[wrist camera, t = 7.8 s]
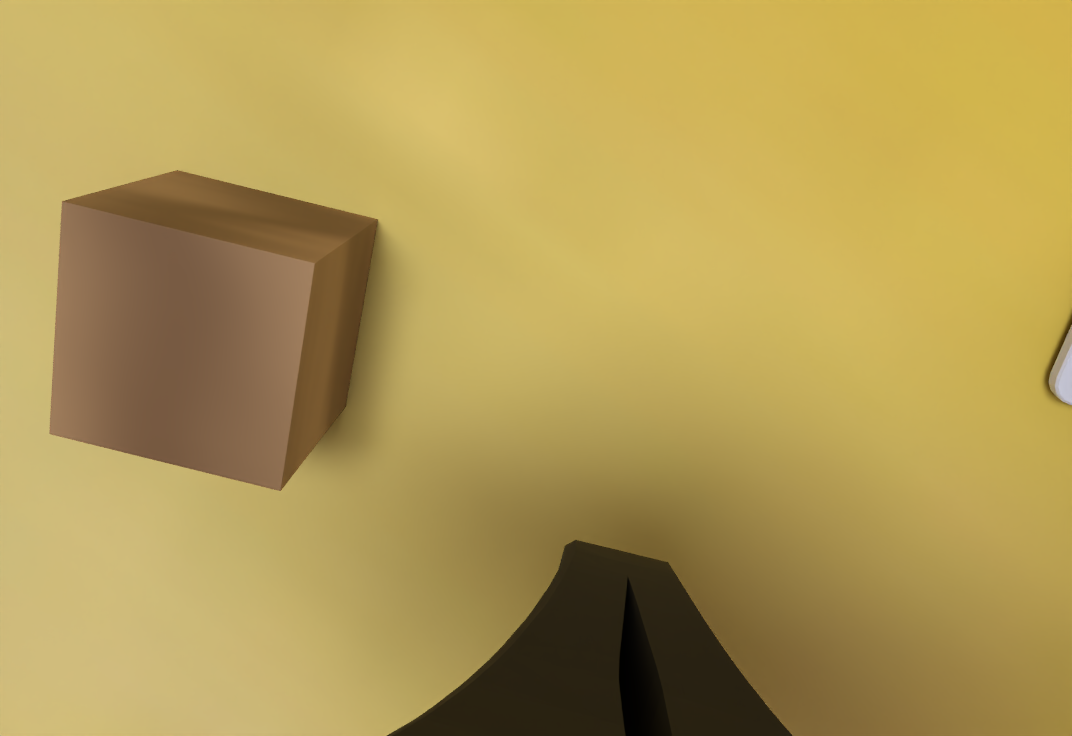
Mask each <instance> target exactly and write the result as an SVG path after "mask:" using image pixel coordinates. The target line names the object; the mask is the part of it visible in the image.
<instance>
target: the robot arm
mask: <svg viewBox="0 0 1072 736" xmlns="http://www.w3.org/2000/svg"><path fill="white" fill-rule="evenodd" d="M1049 386H1050V390H1051V391H1052V392H1053V393H1054V394H1055V396H1056V397H1058V398H1059V399H1060V400H1061V401H1063V402H1065V403H1067V404H1070V405H1072V325H1071V327H1070V330H1069V332H1068V334H1067V336H1066V339H1065V341H1064V343H1063V346H1062V348H1061V350H1060V352H1059V355H1058V357H1057V359H1056V361H1055V364H1054V366H1053V368H1052V371H1051V373H1050V377H1049ZM387 736H792V734H791V733H790V732H789V731H788V730H787V729H786V728H785V727H784V725H783V724H782V723H781V722H780V721H779V720H778V719H777V717H776V716H775V715H774V714H773V713H772V711H771V710H770V709H769V708H768V706H767V705H766V704H765V703H764V701H763V700H762V699H761V698H760V696H759V695H758V694H757V693H756V691H755V690H754V689H753V688H752V686H751V685H750V684H749V683H748V681H747V680H746V679H745V677H744V676H743V675H742V673H741V672H740V671H739V669H738V668H737V667H736V665H735V664H734V663H733V661H732V660H731V658H730V657H729V656H728V654H727V653H726V651H725V650H724V649H723V647H722V646H721V644H720V643H719V641H718V640H717V638H716V637H715V635H714V634H713V632H712V631H711V629H710V628H709V626H708V625H707V623H706V622H705V620H704V619H703V617H702V616H701V614H700V613H699V611H698V609H697V608H696V606H695V605H694V603H693V602H692V600H691V598H690V597H689V595H688V594H687V592H686V590H685V589H684V587H683V586H682V584H681V582H680V581H679V579H678V577H677V576H676V574H675V573H674V571H673V570H672V568H671V567H670V565H669V564H668V562H664V561H660V560H655V559H651V558H647V557H643V556H639V555H635V554H631V553H627V552H623V551H619V550H614V549H610V548H606V547H602V546H598V545H594V544H590V543H586V542H582V541H577V540H575V541H573V542H571V543H569V544H567V545H565V548H564V552H563V555H562V559H561V563H560V566H559V570H558V572H557V573H556V575H555V577H554V579H553V581H552V582H551V584H550V586H549V587H548V589H547V590H546V592H545V593H544V595H543V596H542V598H541V599H540V601H539V602H538V603H537V605H536V606H535V608H534V609H533V611H532V612H531V613H530V615H529V616H528V617H527V618H526V620H525V621H524V622H523V623H522V624H521V625H520V627H519V628H518V629H517V630H516V631H515V632H514V634H513V635H512V636H511V637H510V638H509V639H508V641H507V642H506V643H505V644H504V645H503V646H502V647H501V648H500V649H499V650H498V651H497V652H496V653H495V654H494V655H493V656H492V657H491V659H490V660H488V661H487V662H486V663H485V664H484V665H483V666H482V667H481V668H480V669H479V670H478V671H477V672H476V673H474V674H473V675H472V676H471V677H470V678H469V679H468V680H467V681H465V682H464V683H463V684H462V685H461V686H459V687H458V688H457V689H455V690H454V691H453V692H452V693H450V694H449V695H448V696H446V697H445V698H444V699H443V700H441V701H440V702H439V703H437V704H436V705H435V706H433V707H432V708H431V709H429V710H428V711H426V712H425V713H423V714H422V715H421V716H419V717H418V718H416V719H415V720H413V721H411V722H410V723H408V724H406V725H404V726H403V727H401V728H399V729H398V730H396V731H394V732H392V733H391V734H389V735H387Z"/></svg>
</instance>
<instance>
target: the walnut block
mask: <svg viewBox="0 0 1072 736" xmlns="http://www.w3.org/2000/svg"><path fill="white" fill-rule="evenodd" d="M377 221H378V219H374V218H370V217H366V216H362V215H357V214H353V213H349V212H345V211H341V210H337V209H333V208H329V207H325V206H321V205H317V204H313V203H308V202H304V201H300V200H296V199H292V198H288V197H284V196H280V195H276V194H272V193H268V192H263V191H259V190H255V189H251V188H247V187H243V186H239V185H235V184H231V183H227V182H223V181H219V180H214V179H210V178H206V177H202V176H198V175H194V174H190V173H186V172H182V171H178V170H177V171H173V172H169V173H166V174H162V175H158V176H155V177H151V178H147V179H143V180H140V181H136V182H132V183H128V184H125V185H121V186H117V187H114V188H110V189H106V190H102V191H99V192H95V193H91V194H88V195H84V196H80V197H76V198H73V199H69V200H65V201H62V213H61V232H60V250H59V268H58V287H57V305H56V323H55V342H54V360H53V378H52V397H51V415H50V434H52V435H56V436H60V437H64V438H68V439H72V440H76V441H80V442H84V443H88V444H92V445H96V446H100V447H104V448H109V449H113V450H117V451H121V452H125V453H129V454H133V455H137V456H141V457H145V458H149V459H153V460H157V461H161V462H165V463H169V464H173V465H177V466H181V467H185V468H189V469H194V470H198V471H202V472H206V473H210V474H214V475H218V476H222V477H226V478H230V479H234V480H238V481H242V482H246V483H250V484H254V485H258V486H262V487H266V488H270V489H275V490H279V491H281V490H282V488H283V487H284V486H285V484H286V483H287V482H288V481H289V479H290V478H291V477H292V475H293V474H294V473H295V471H296V470H297V469H298V468H299V466H300V465H301V464H302V462H303V461H304V460H305V459H306V457H307V456H308V455H309V453H310V452H311V451H312V449H313V448H314V447H315V446H316V444H317V443H318V442H319V440H320V439H321V438H322V437H323V435H324V434H325V433H326V431H327V430H328V429H329V427H330V426H331V425H332V424H333V422H334V421H335V420H336V418H337V417H338V416H339V414H340V413H341V412H342V411H343V409H344V408H345V407H346V402H347V396H348V390H349V384H350V379H351V373H352V367H353V361H354V355H355V350H356V344H357V338H358V332H359V326H360V320H361V315H362V309H363V303H364V297H365V291H366V285H367V280H368V274H369V268H370V262H371V256H372V251H373V245H374V239H375V233H376V227H377Z"/></svg>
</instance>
